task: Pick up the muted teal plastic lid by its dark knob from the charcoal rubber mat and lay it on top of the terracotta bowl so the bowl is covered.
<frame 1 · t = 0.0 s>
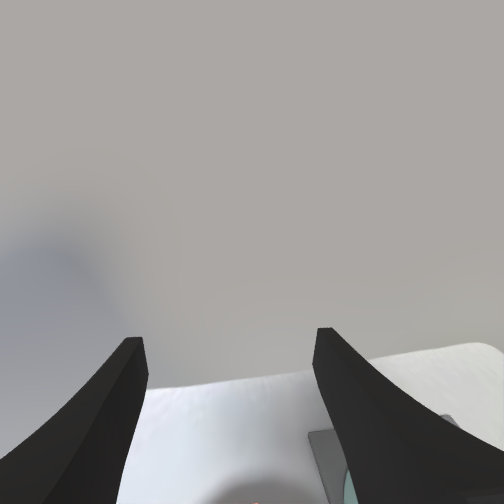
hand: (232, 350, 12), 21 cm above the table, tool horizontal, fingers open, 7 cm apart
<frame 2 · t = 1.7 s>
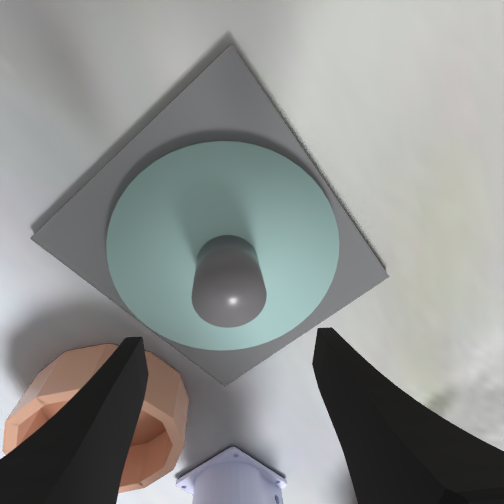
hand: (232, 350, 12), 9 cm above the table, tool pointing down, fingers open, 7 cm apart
lid: (227, 259, 20), resting on mat
bowl: (114, 399, 25), on the table
mat: (227, 256, 20), on the table
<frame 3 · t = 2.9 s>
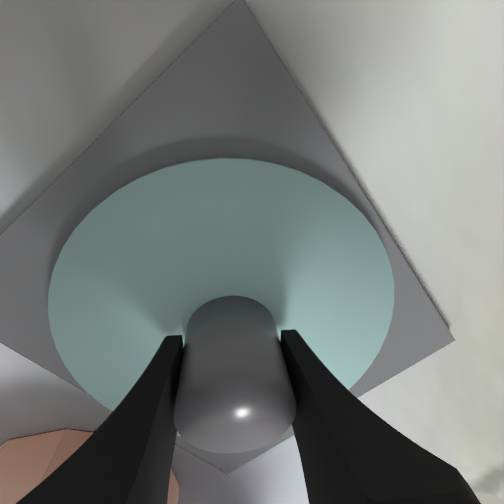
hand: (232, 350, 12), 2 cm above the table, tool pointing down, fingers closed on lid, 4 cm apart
lid: (231, 324, 14), resting on mat, touching gripper
bowl: (81, 491, 19), on the table
mat: (230, 317, 14), on the table
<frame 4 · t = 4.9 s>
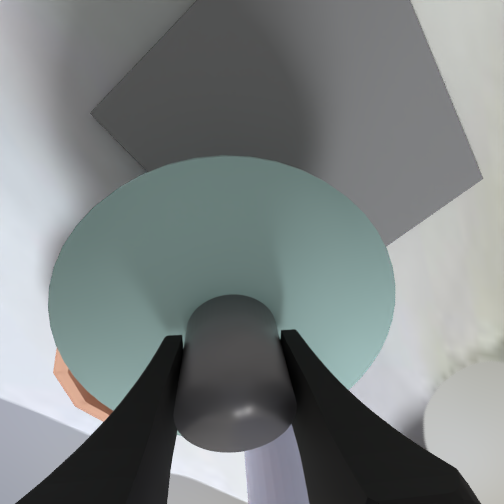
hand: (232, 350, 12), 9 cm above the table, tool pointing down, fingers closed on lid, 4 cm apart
lid: (231, 323, 14), point 7 cm above the table, touching gripper
bowl: (166, 330, 23), on the table
mat: (306, 148, 18), on the table
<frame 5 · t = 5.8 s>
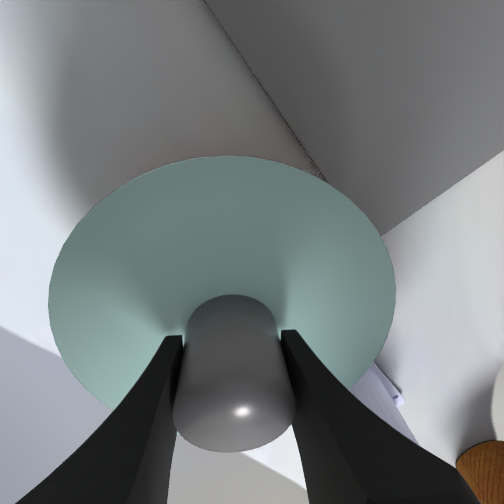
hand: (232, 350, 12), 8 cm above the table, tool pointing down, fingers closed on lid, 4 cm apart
lid: (231, 323, 14), point 6 cm above the table, touching gripper
disposable coffee cup: (481, 455, 34), on the table
mat: (419, 19, 15), on the table
when the fingers open (7 cm above the table, at t = 6.7 s): lid drops 2 cm, resting on bowl.
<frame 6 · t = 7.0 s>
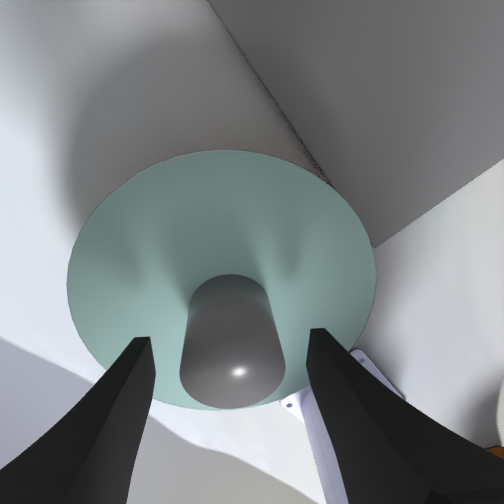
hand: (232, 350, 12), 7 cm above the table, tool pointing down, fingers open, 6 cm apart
lid: (229, 302, 15), point 4 cm above the table, touching bowl
mat: (428, 14, 14), on the table
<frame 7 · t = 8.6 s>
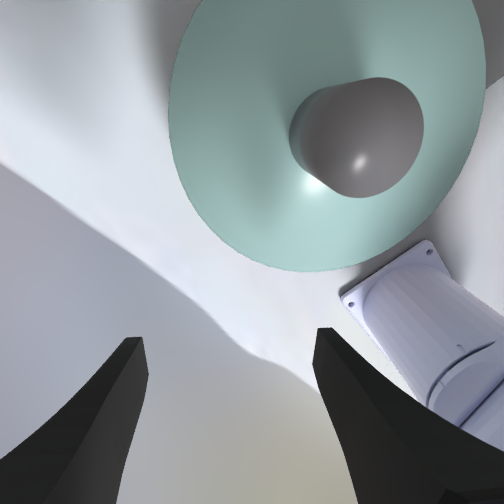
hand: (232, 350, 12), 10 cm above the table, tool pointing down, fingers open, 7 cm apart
lid: (326, 133, 15), point 4 cm above the table, touching bowl
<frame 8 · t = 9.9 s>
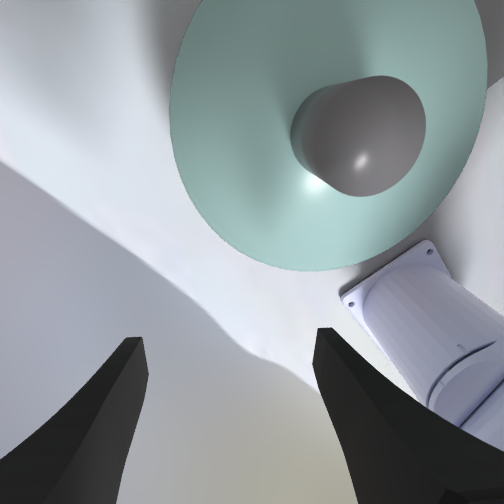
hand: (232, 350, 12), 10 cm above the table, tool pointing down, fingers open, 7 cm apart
lid: (327, 132, 15), point 4 cm above the table, touching bowl
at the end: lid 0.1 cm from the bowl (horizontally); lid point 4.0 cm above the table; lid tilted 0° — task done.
